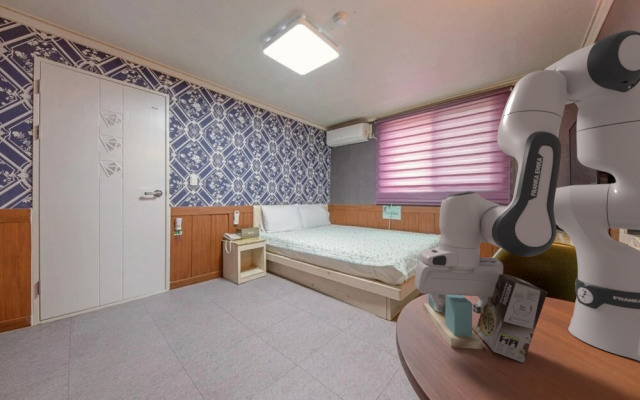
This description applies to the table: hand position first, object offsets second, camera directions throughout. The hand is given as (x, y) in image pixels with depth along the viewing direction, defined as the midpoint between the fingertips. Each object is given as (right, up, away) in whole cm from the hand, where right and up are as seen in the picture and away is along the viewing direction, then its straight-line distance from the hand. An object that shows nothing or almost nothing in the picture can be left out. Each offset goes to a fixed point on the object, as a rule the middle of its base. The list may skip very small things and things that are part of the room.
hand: (457, 311), depth 59 cm
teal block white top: (0, -5, 0) cm, 5 cm away
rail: (+1, -7, +6) cm, 9 cm away
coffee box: (+7, -6, -4) cm, 10 cm away
